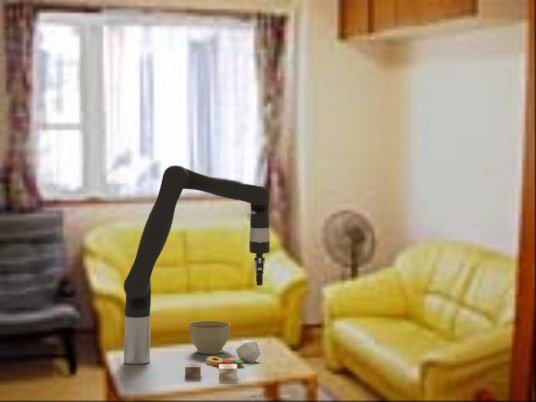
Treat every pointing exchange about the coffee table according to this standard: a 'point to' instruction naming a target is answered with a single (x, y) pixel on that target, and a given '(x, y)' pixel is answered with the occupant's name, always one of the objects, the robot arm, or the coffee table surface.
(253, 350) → the die
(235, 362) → the toy food set
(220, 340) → the planter bowl
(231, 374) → the beech block
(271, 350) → the coffee table surface
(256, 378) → the coffee table surface
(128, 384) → the coffee table surface
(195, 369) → the walnut cube
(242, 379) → the board
